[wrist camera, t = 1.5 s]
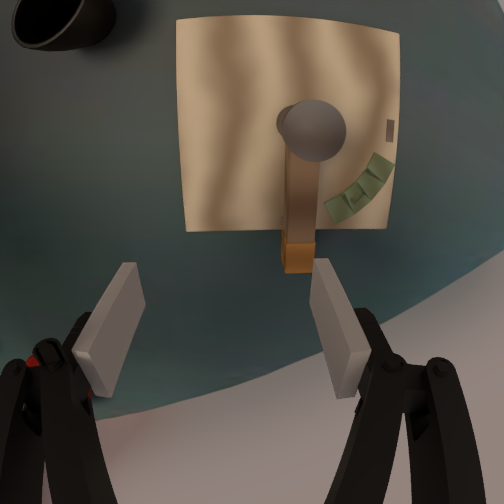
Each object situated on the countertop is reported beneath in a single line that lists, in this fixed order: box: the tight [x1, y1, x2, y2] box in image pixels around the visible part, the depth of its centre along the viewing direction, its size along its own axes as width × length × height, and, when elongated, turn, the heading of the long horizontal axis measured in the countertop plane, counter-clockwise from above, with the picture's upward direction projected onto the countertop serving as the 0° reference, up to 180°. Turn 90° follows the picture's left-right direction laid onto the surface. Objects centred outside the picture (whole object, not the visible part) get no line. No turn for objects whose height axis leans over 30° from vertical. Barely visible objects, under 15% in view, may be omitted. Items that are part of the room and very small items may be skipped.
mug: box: [12, 0, 116, 51], centre depth 17 cm, size 8×12×10 cm
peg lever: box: [276, 100, 346, 274], centre depth 26 cm, size 15×4×8 cm, turn 0°
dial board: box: [176, 15, 400, 232], centre depth 28 cm, size 22×22×1 cm
